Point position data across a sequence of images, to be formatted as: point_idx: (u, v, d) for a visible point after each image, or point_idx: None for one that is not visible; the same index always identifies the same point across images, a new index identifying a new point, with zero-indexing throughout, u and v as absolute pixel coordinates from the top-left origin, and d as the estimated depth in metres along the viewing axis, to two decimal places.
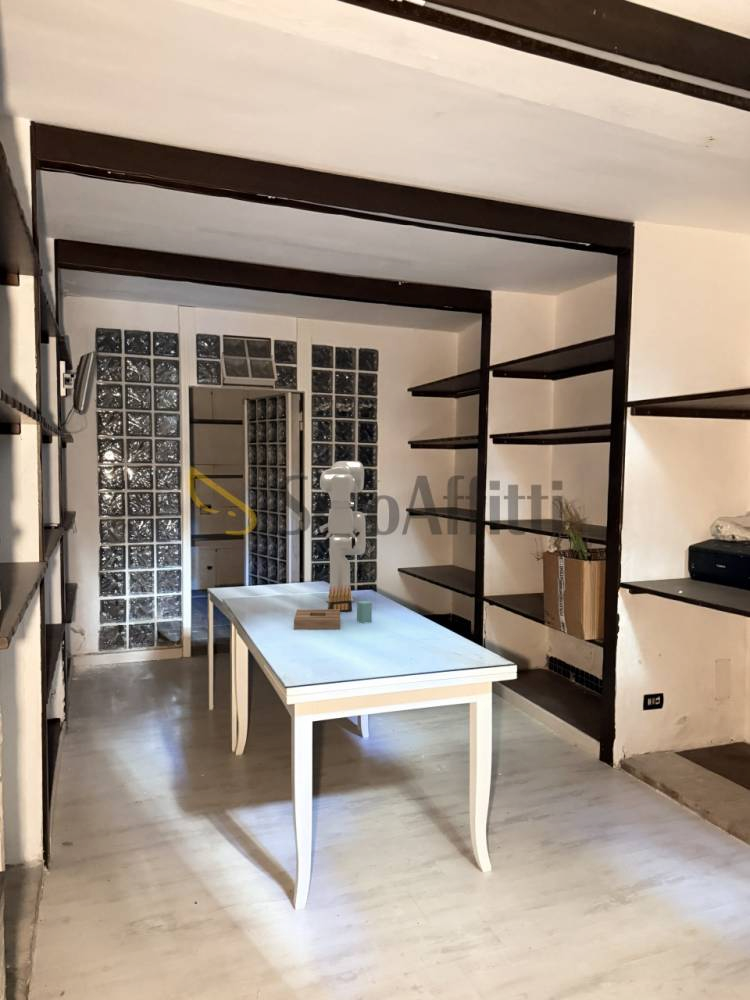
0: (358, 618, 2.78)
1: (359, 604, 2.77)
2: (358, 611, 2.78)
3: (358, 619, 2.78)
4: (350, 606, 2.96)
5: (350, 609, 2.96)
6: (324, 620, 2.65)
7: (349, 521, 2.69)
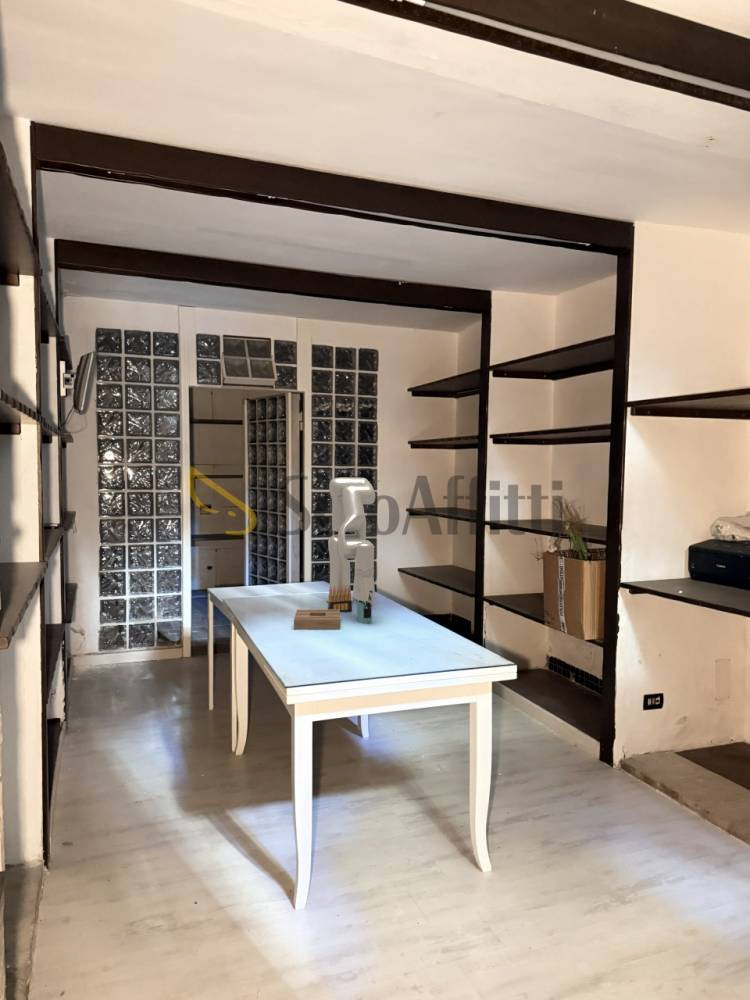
0: (358, 618, 2.78)
1: (359, 604, 2.77)
2: (358, 611, 2.78)
3: (358, 619, 2.78)
4: (350, 606, 2.96)
5: (350, 609, 2.96)
6: (324, 620, 2.65)
7: None
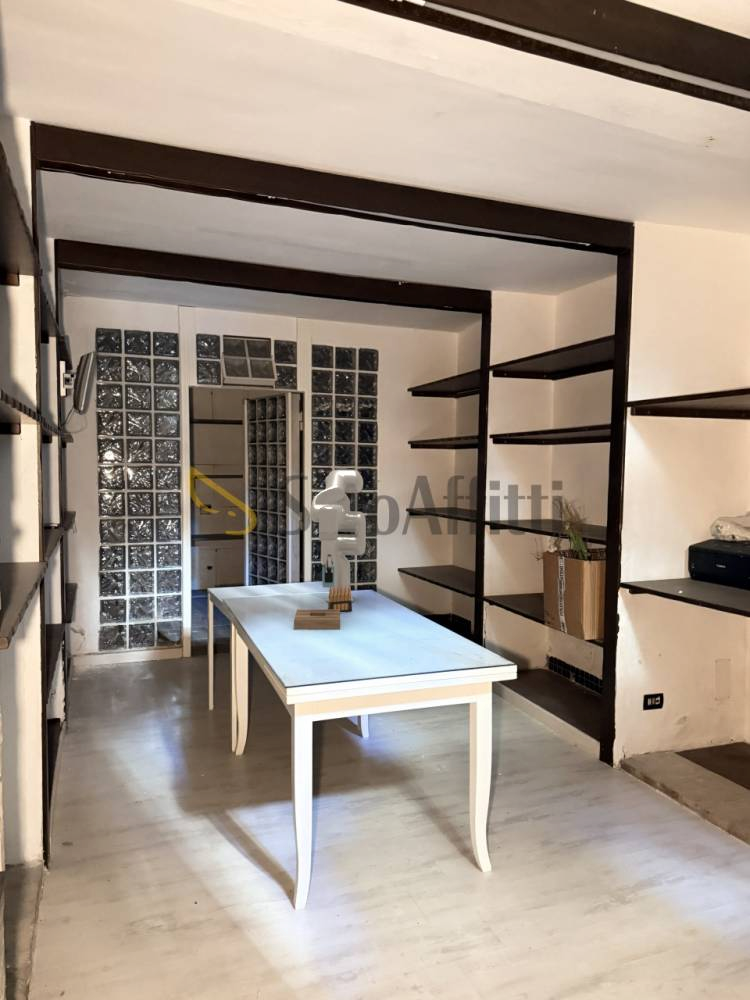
0: (322, 582, 2.74)
1: None
2: (322, 575, 2.74)
3: (322, 584, 2.74)
4: (350, 606, 2.96)
5: (350, 609, 2.96)
6: (324, 620, 2.65)
7: None
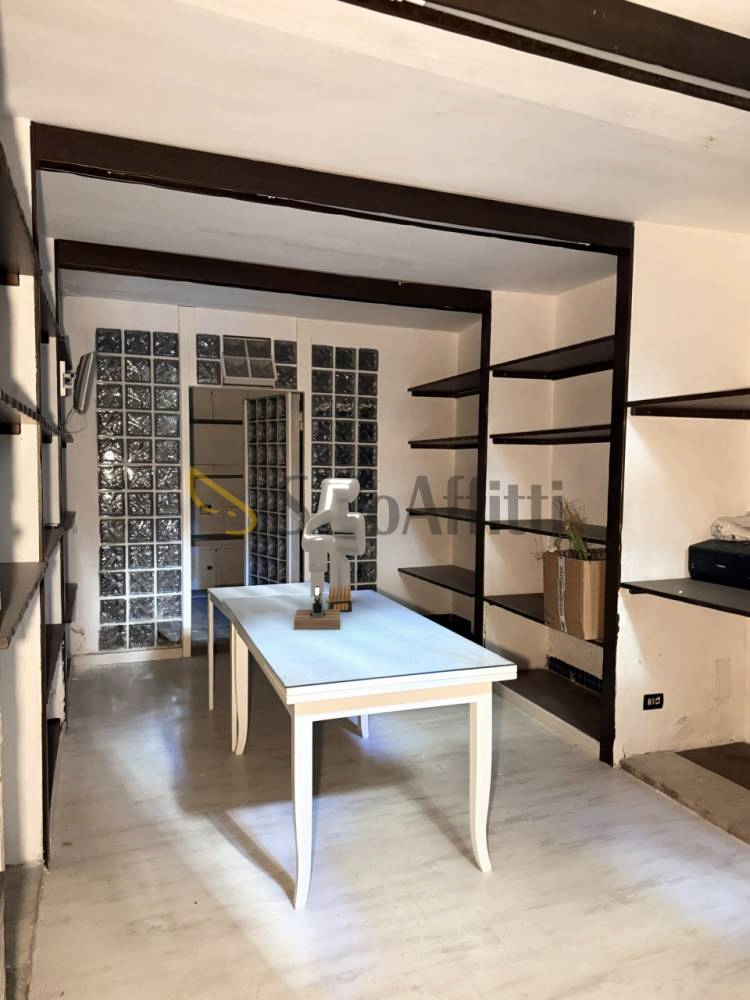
0: None
1: None
2: None
3: None
4: (350, 606, 2.96)
5: (350, 609, 2.96)
6: (324, 620, 2.65)
7: None
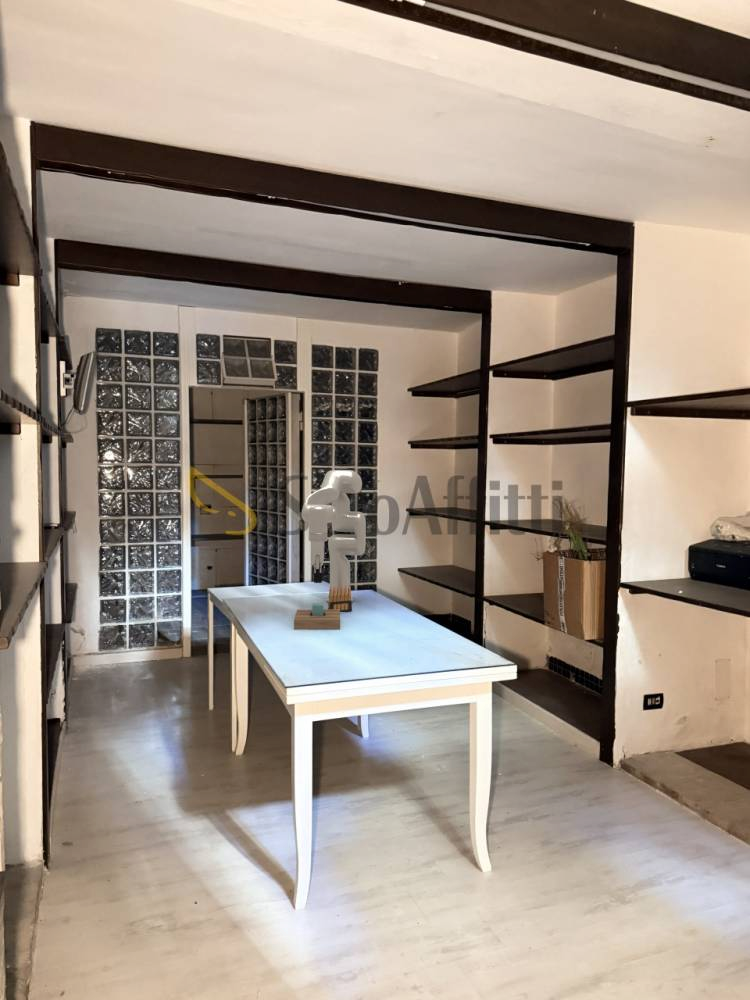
0: None
1: None
2: None
3: None
4: (350, 606, 2.96)
5: (350, 609, 2.96)
6: (324, 620, 2.65)
7: None
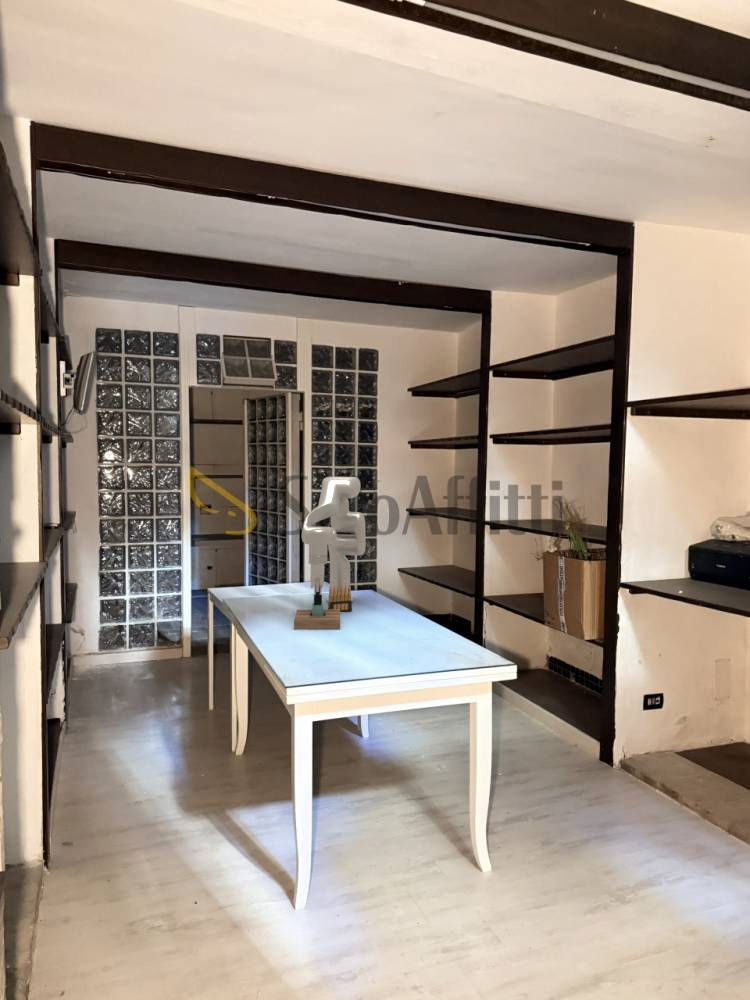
0: None
1: None
2: None
3: None
4: (350, 606, 2.96)
5: (350, 609, 2.96)
6: (324, 620, 2.65)
7: None
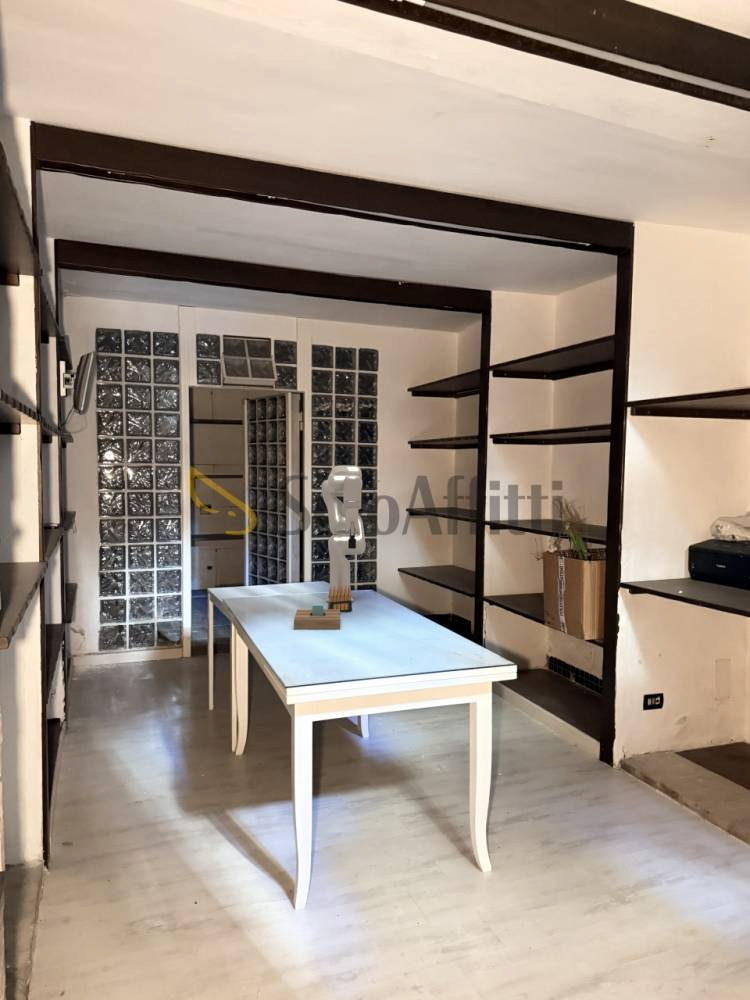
0: None
1: None
2: None
3: None
4: (350, 606, 2.96)
5: (350, 609, 2.96)
6: (324, 620, 2.65)
7: None
